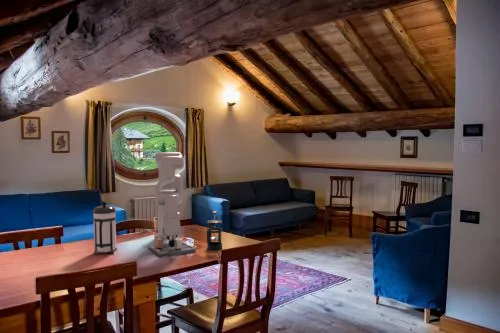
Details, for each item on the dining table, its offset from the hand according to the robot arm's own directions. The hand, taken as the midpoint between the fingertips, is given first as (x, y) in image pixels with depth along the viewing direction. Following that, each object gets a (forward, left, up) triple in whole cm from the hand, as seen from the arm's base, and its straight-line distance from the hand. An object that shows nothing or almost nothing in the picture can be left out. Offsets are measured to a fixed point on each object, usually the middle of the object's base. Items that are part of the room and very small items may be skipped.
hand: (171, 246), depth 250 cm
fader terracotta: (-8, -5, -1) cm, 9 cm away
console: (-4, +1, -4) cm, 6 cm away
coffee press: (-21, -33, -4) cm, 39 cm away
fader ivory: (0, +4, -1) cm, 4 cm away
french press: (+5, +25, -4) cm, 26 cm away
